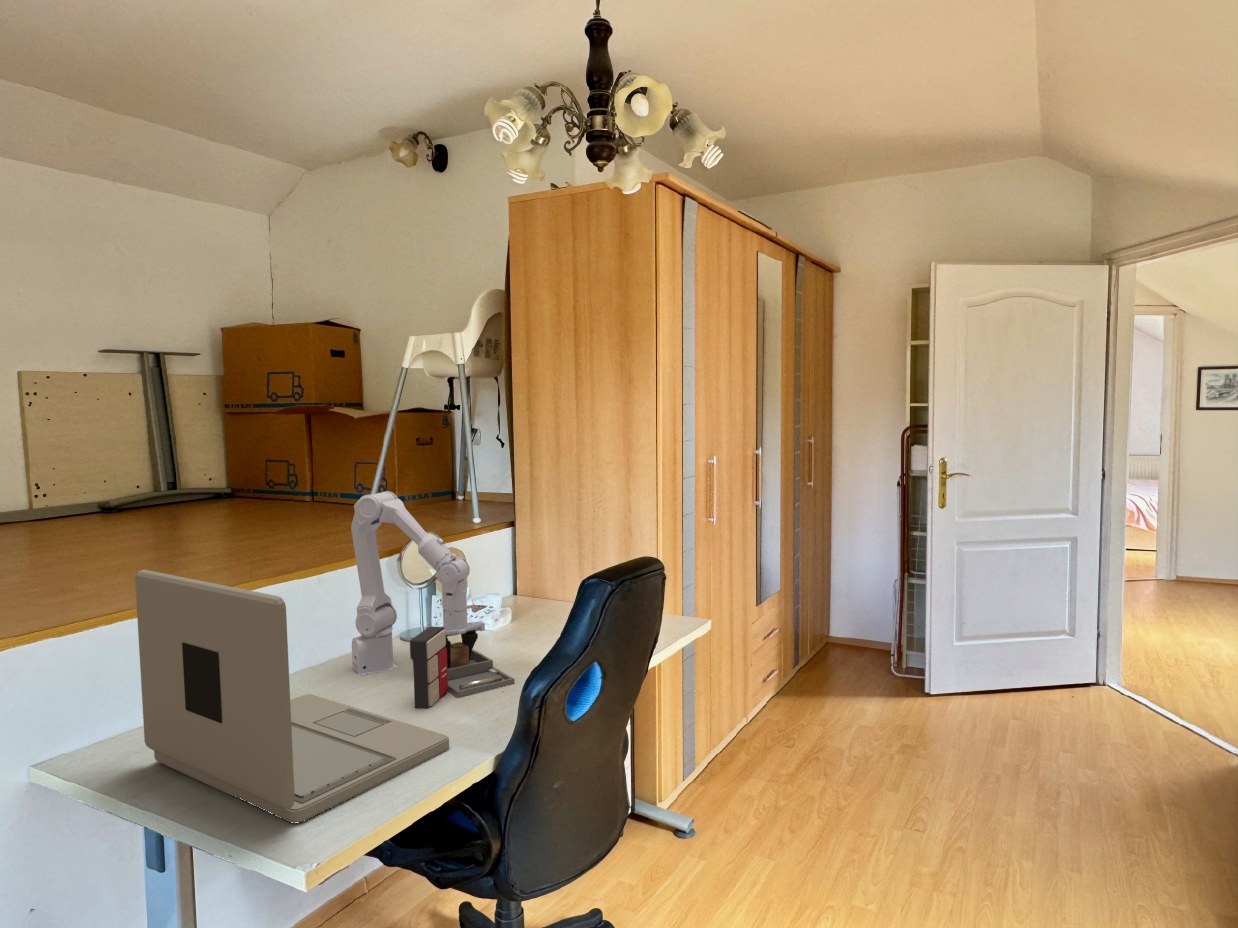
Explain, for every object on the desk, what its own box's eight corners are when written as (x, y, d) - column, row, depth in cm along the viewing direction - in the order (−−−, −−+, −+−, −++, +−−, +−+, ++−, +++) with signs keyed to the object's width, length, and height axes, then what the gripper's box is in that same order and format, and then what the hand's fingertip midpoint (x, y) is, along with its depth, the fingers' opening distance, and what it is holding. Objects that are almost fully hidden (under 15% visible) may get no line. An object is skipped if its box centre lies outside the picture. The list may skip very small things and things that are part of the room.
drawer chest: (431, 710, 167) (428, 640, 166) (411, 709, 168) (409, 640, 167) (450, 691, 178) (447, 626, 177) (431, 690, 179) (429, 626, 178)
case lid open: (457, 698, 174) (457, 691, 174) (438, 684, 183) (438, 678, 183) (514, 685, 182) (514, 678, 182) (493, 672, 191) (493, 666, 191)
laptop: (453, 751, 147) (447, 560, 145) (286, 834, 119) (275, 599, 116) (309, 705, 172) (302, 541, 169) (142, 765, 143) (130, 570, 141)
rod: (459, 683, 178) (458, 688, 178) (461, 686, 177) (461, 691, 177) (499, 674, 183) (498, 679, 184) (502, 677, 182) (501, 682, 183)
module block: (451, 674, 188) (450, 648, 188) (444, 669, 192) (443, 643, 191) (469, 670, 191) (468, 644, 190) (461, 665, 194) (460, 640, 194)
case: (438, 684, 183) (437, 671, 183) (420, 672, 192) (420, 660, 192) (493, 672, 191) (492, 660, 191) (473, 661, 200) (473, 649, 200)
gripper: (432, 617, 183) (434, 674, 184) (489, 607, 191) (491, 662, 192) (421, 611, 189) (423, 666, 190) (477, 602, 197) (478, 655, 198)
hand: (456, 664), depth 191 cm, fingers closed on module block, 4 cm apart
